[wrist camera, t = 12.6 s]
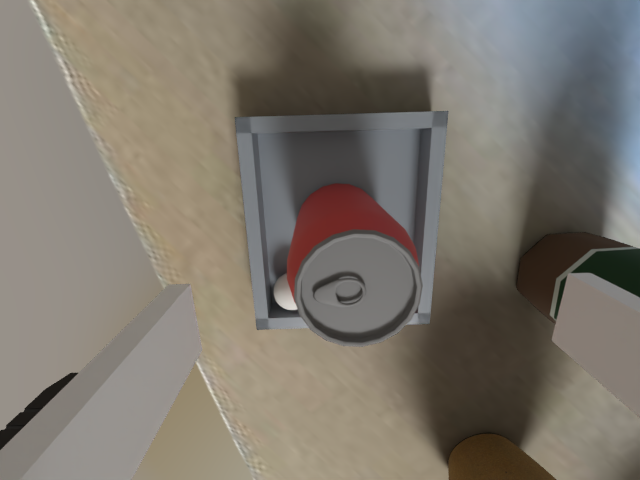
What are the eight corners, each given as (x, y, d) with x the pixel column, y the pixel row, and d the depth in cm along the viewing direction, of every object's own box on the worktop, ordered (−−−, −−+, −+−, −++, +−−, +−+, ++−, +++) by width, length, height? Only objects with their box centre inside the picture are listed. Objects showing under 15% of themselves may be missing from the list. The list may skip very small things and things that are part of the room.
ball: (274, 267, 26) (269, 282, 23) (310, 265, 26) (310, 281, 23) (277, 299, 27) (272, 318, 24) (312, 298, 27) (311, 316, 24)
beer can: (292, 186, 24) (270, 227, 12) (377, 177, 24) (436, 209, 12) (302, 265, 26) (291, 364, 14) (381, 257, 26) (435, 350, 14)
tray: (244, 120, 23) (234, 117, 20) (431, 115, 23) (448, 111, 20) (262, 310, 28) (256, 329, 25) (417, 305, 28) (429, 323, 25)
